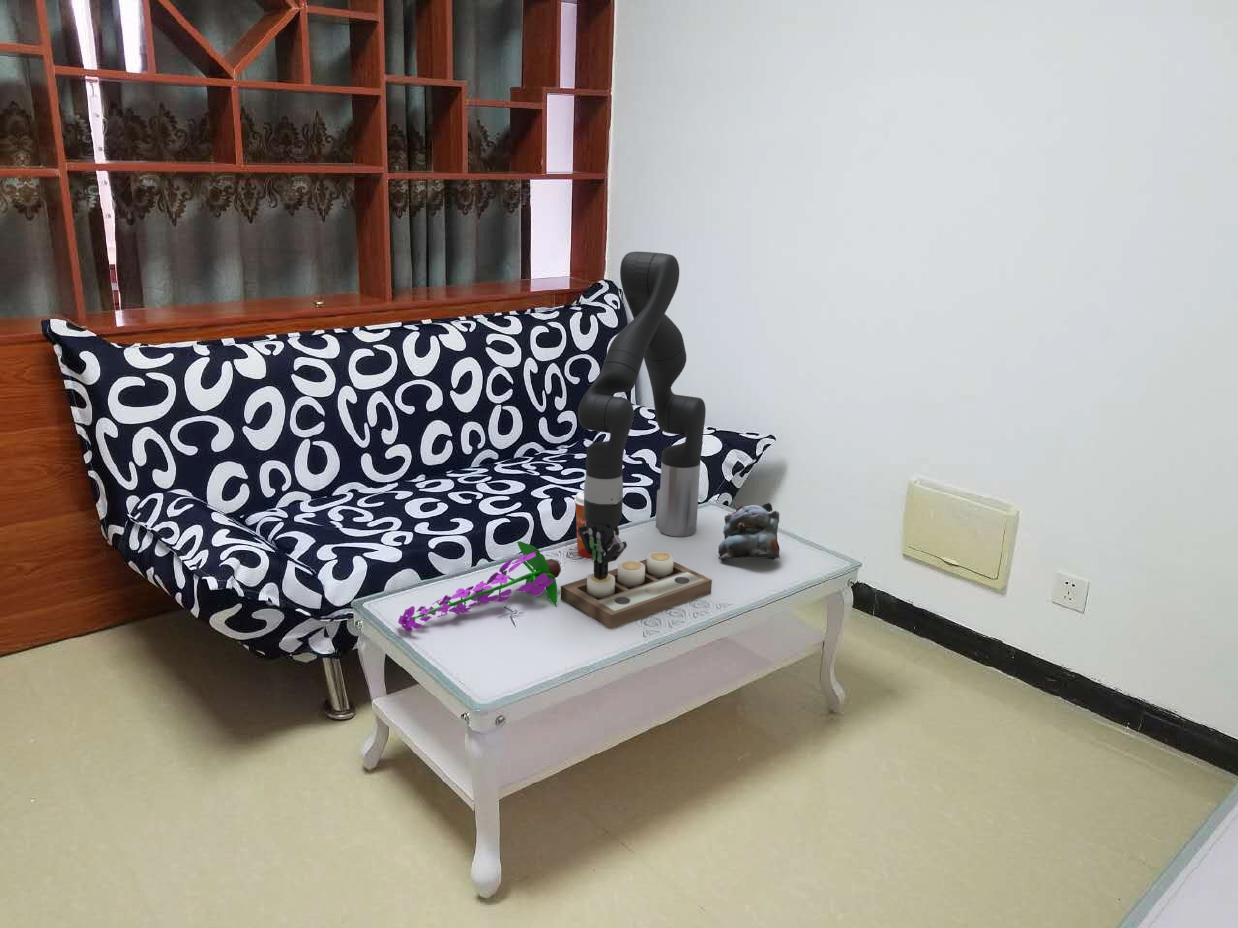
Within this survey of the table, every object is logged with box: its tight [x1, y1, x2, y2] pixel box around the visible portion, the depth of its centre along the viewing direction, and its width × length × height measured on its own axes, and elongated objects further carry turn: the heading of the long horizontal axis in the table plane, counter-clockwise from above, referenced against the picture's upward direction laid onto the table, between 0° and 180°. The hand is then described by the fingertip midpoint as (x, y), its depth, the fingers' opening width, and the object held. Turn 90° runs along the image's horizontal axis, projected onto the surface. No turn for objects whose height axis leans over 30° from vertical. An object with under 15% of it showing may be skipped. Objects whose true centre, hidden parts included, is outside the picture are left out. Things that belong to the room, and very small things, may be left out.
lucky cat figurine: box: [717, 502, 781, 561], centre depth 218 cm, size 15×12×14 cm
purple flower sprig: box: [397, 540, 562, 632], centre depth 188 cm, size 12×16×35 cm
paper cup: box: [573, 491, 592, 559], centre depth 216 cm, size 8×8×14 cm
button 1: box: [586, 572, 615, 598], centre depth 193 cm, size 6×6×3 cm
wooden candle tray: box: [560, 558, 713, 630], centre depth 198 cm, size 16×27×3 cm, turn 130°
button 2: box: [646, 551, 675, 576], centre depth 203 cm, size 6×6×3 cm
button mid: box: [617, 560, 645, 585], centre depth 198 cm, size 6×6×3 cm
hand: (600, 577), depth 193 cm, fingers closed
